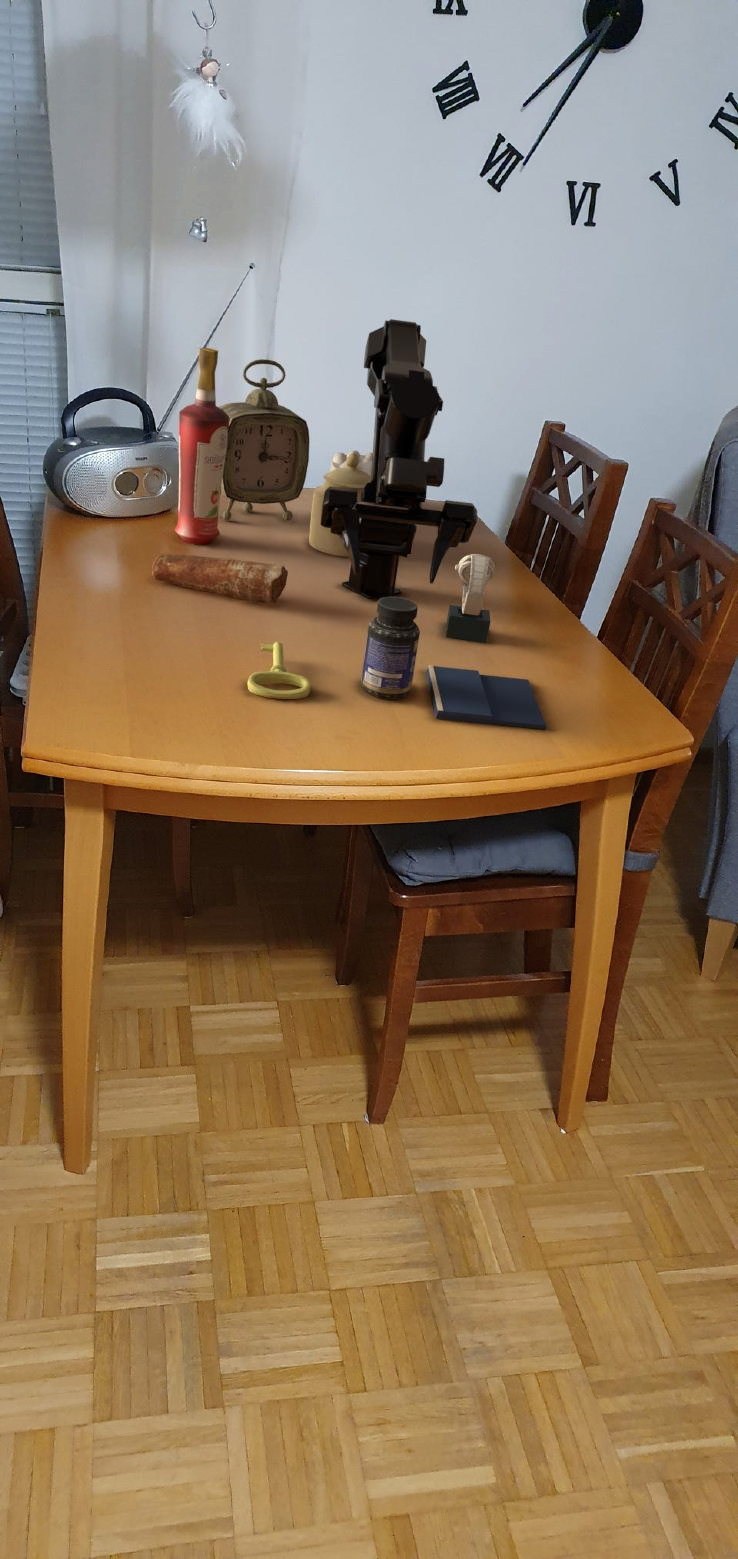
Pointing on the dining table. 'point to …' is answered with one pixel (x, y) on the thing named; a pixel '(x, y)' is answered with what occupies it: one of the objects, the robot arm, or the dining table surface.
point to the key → (278, 677)
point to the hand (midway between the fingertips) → (394, 578)
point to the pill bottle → (391, 649)
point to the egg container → (363, 465)
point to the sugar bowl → (336, 478)
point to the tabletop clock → (264, 449)
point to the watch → (471, 600)
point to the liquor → (201, 457)
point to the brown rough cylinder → (223, 576)
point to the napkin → (483, 698)
